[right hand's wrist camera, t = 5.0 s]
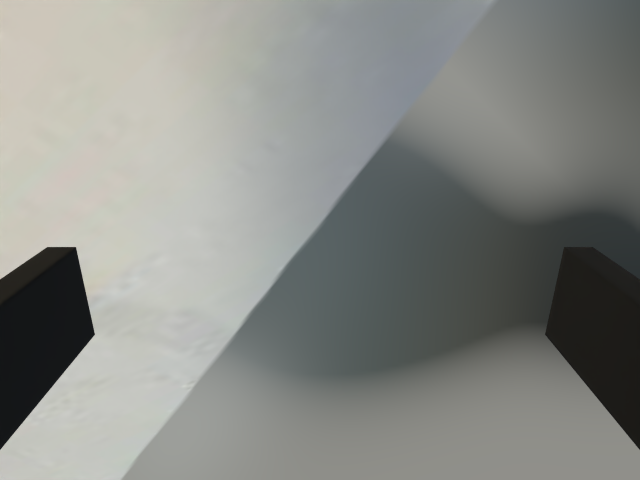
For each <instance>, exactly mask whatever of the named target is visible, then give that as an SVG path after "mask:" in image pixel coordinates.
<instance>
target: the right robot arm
mask: <svg viewBox="0 0 640 480" xmlns="http://www.w3.org/2000/svg"><path fill="white" fill-rule="evenodd" d="M94 335H95V333H94V329H93V324H92V319H91V315H90V310H89V306H88V301H87V296H86V292H85V287H84V283H83V278H82V273H81V269H80V264H79V259H78V255H77V250H76V247H47V248H45V249H44V250H43V251H41V252H40V253H38V254H37V255H35V256H34V257H32V258H31V259H29V260H28V261H26V262H25V263H24V264H22V265H21V266H19V267H18V268H16V269H15V270H13V271H12V272H10V273H9V274H8V275H6V276H5V277H3V278H2V279H0V449H1V448H2V447H3V446H4V444H5V443H6V442H7V441H8V440H9V438H10V437H11V436H12V435H13V434H14V432H15V431H16V430H17V429H18V427H19V426H20V425H21V424H22V423H23V421H24V420H25V419H26V418H27V416H28V415H29V414H30V413H31V412H32V410H33V409H34V408H35V407H36V406H37V404H38V403H39V402H40V401H41V399H42V398H43V397H44V396H45V395H46V393H47V392H48V391H49V390H50V388H51V387H52V386H53V385H54V384H55V382H56V381H57V380H58V379H59V378H60V376H61V375H62V374H63V373H64V371H65V370H66V369H67V368H68V367H69V365H70V364H71V363H72V362H73V360H74V359H75V358H76V357H77V356H78V354H79V353H80V352H81V351H82V350H83V348H84V347H85V346H86V345H87V343H88V342H89V341H90V340H91V339H92V337H93V336H94ZM545 335H546V336H547V337H548V339H549V340H550V341H551V342H552V343H553V345H554V346H555V347H556V348H557V349H558V351H559V352H560V353H561V354H562V356H563V357H564V358H565V359H566V360H567V362H568V363H569V364H570V365H571V367H572V368H573V369H574V370H575V371H576V373H577V374H578V375H579V376H580V378H581V379H582V380H583V381H584V382H585V384H586V385H587V386H588V387H589V388H590V390H591V391H592V392H593V393H594V395H595V396H596V397H597V398H598V399H599V401H600V402H601V403H602V404H603V406H604V407H605V408H606V409H607V410H608V412H609V413H610V414H611V415H612V416H613V418H614V419H615V420H616V421H617V423H618V424H619V425H620V426H621V427H622V429H623V430H624V431H625V432H626V434H627V435H628V436H629V437H630V438H631V440H632V441H633V442H634V443H635V444H636V446H637V447H638V448H639V449H640V279H638V278H637V277H635V276H634V275H632V274H631V273H630V272H628V271H627V270H625V269H624V268H622V267H621V266H619V265H618V264H616V263H615V262H613V261H612V260H611V259H609V258H608V257H606V256H605V255H603V254H602V253H600V252H599V251H597V250H596V249H595V248H593V247H564V250H563V255H562V259H561V264H560V269H559V273H558V278H557V283H556V287H555V292H554V296H553V301H552V306H551V310H550V315H549V319H548V324H547V329H546V333H545Z"/></svg>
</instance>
